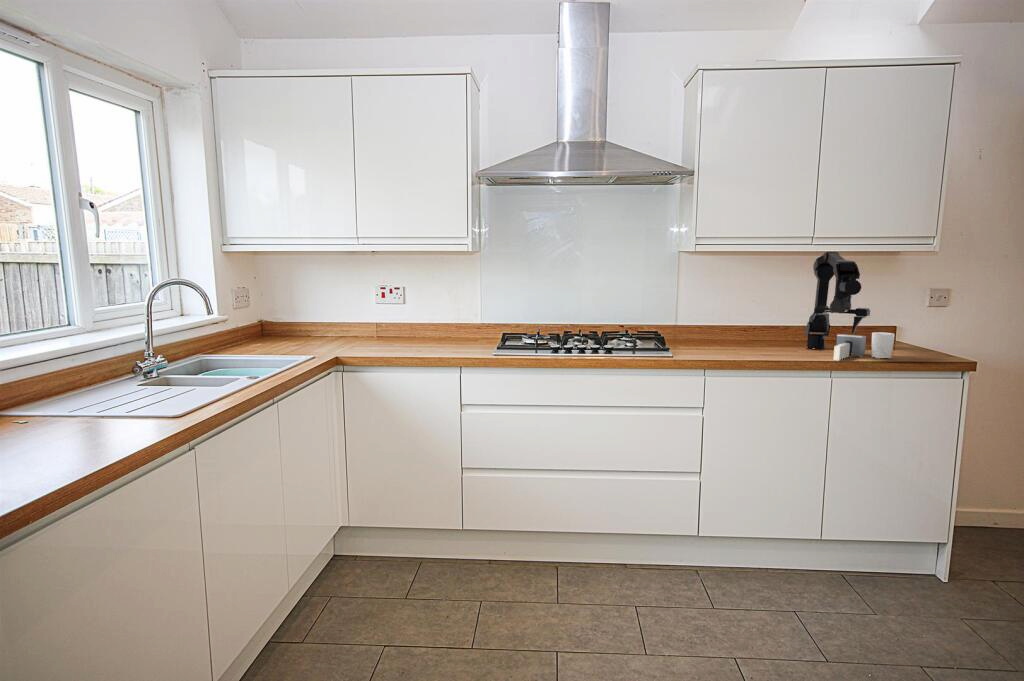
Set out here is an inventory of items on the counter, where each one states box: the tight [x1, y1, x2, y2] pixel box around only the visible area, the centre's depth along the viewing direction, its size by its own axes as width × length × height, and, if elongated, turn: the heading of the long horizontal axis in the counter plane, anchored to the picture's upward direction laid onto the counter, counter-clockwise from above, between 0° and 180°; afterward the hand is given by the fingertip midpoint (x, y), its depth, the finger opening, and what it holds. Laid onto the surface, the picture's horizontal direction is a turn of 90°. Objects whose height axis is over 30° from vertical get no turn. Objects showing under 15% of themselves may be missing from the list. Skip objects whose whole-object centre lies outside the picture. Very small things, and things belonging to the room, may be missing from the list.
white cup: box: [870, 331, 896, 359], centre depth 236 cm, size 8×8×10 cm
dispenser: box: [836, 333, 867, 358], centre depth 243 cm, size 8×9×9 cm
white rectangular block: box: [832, 343, 850, 362], centre depth 233 cm, size 15×2×6 cm, turn 137°
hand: (839, 332), depth 231 cm, fingers open, 9 cm apart
